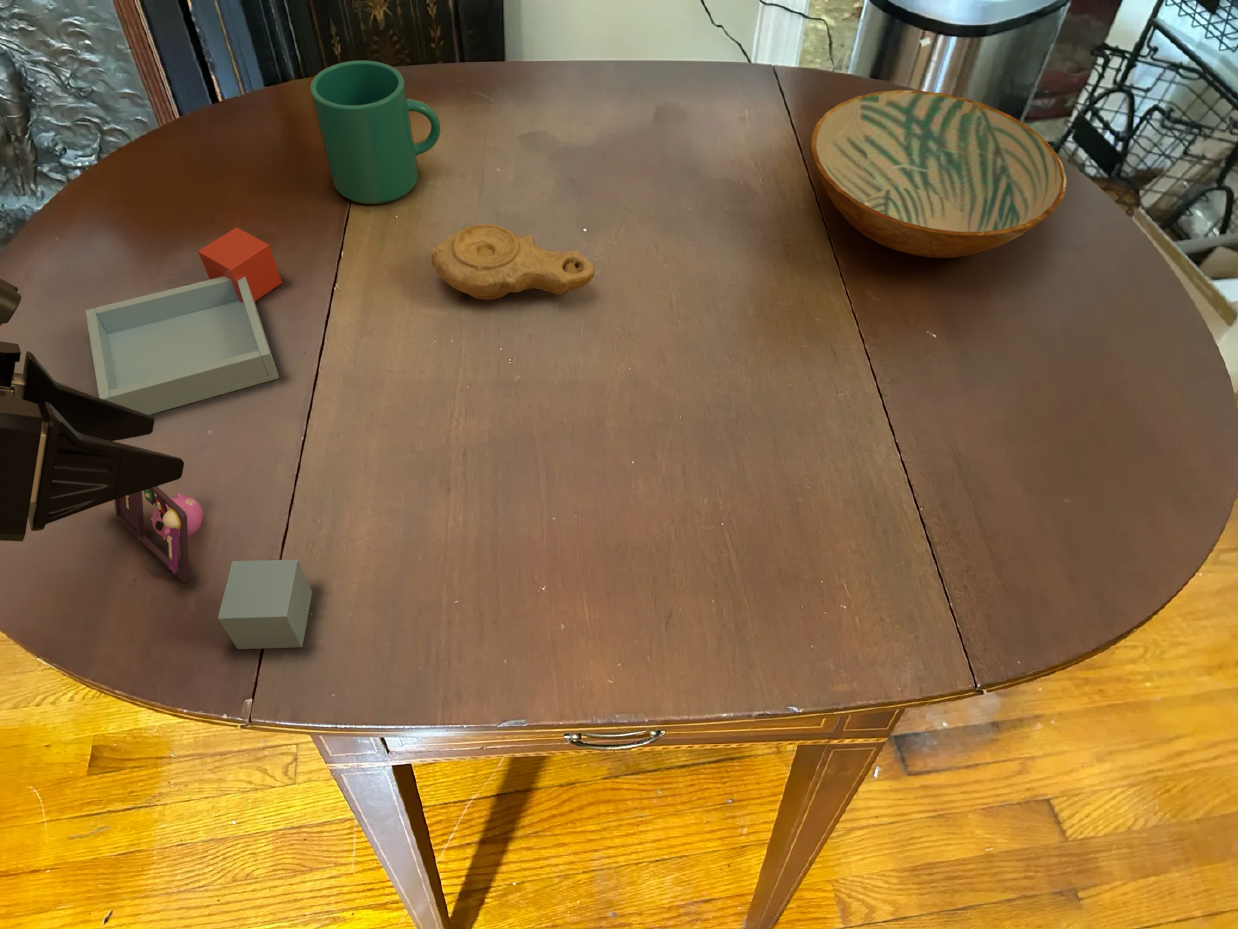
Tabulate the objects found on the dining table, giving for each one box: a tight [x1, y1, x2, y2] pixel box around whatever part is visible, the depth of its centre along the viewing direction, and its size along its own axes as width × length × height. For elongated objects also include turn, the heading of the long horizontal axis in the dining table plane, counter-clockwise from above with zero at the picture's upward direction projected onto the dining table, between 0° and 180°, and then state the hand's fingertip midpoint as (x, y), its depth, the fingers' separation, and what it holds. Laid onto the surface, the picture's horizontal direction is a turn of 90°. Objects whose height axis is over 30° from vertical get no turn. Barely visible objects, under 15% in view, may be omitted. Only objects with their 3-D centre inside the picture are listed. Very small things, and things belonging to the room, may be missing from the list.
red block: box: [197, 227, 283, 303], centre depth 85 cm, size 4×4×4 cm
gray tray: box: [85, 276, 280, 416], centre depth 80 cm, size 14×12×3 cm
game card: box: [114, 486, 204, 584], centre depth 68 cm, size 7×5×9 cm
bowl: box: [810, 89, 1068, 259], centre depth 94 cm, size 25×25×8 cm
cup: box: [309, 60, 441, 205], centre depth 94 cm, size 9×12×11 cm
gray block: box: [217, 558, 313, 650], centre depth 63 cm, size 4×4×4 cm
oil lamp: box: [430, 223, 595, 301], centre depth 87 cm, size 11×14×5 cm
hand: (166, 445), depth 54 cm, fingers open, 9 cm apart
